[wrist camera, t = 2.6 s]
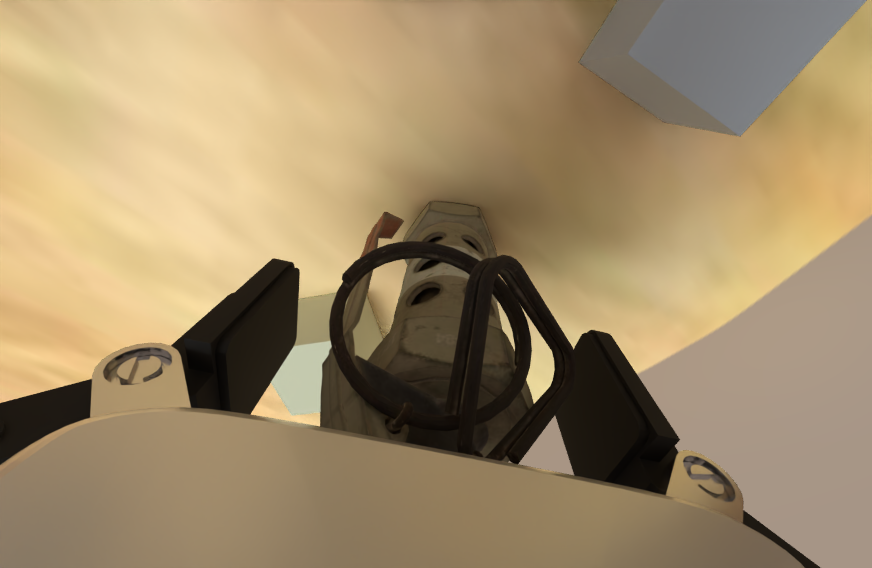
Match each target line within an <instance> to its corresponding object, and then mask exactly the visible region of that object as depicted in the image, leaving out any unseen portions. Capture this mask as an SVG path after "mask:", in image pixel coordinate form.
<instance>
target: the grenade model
mask: <svg viewBox="0 0 872 568" xmlns="http://www.w3.org/2000/svg"><path fill="white" fill-rule="evenodd" d="M403 222H404V221H403V220H402V219H400V218H398V217H396V216H394V215H392V214H390V213H388V212H384V213H383V215H382V216H381V218H380V219H379V221H378V222H377V224H375V226H374V227H373V229H372V231H371V233H370V234H369V236H368V237H367V241H366V244H365V248H364V251H363V253H362V255H361V257H360V259H358V260H356V261H355V262H354V263H353V264H352V265H351V266H350V267H349V268H348V269H347V271H346V272H345V273H344V274H343V276H342V280H343V283H342V285H341V286H340V288H339V289H338V291H337V293H336V296H335V299H334V301H333V304H332V307H331V313H330V319H329V335H330V341H331V346H332V347H331V348H330V350H329V355H328V356H327V358H326V359H325V361H324V362H323V363H322V385H321V403H320V427H324V428H330V429H335V430H340V431H346V432H351V433H356V434H362V435H367V436H373V437H378V438H383V439H389V440H394V441H399V442H405V443H410V444H415V445H420V446H426V447H431V448H436V449H441V450H446V451H452V452H457V453H462V454H467V455H472V456H478V457H483V458H488V459H493V460H498V461H503V462H509V461H511V462H512V463H514V464H519V462H520V461H521V460H522V458H523V457H524V455H525V454H526V453H527V451H528V450H529V449H530V447H531V446H532V445H533V443H534V442H535V441H536V439H537V438H538V437H539V435H540V434H541V433H542V431H543V430H544V429H545V427H546V426H547V425H548V423H549V422H550V421H551V419H552V418H553V417H554V415H555V414H556V413H557V411H558V410H559V409H560V407H561V406H562V405H563V403H564V402H565V401H566V399H567V398H568V397H569V395H570V394H571V392H572V391H573V387H574V382H575V376H576V359H575V355H574V351H573V347H572V346H571V344H570V342H569V341H568V339H567V338H566V336H565V334H564V333H563V331H562V330H561V328H560V326H559V325H558V323H557V322H556V320H555V318H554V317H553V315H552V314H551V312H550V310H549V309H548V307H547V306H546V304H545V302H544V301H543V299H542V298H541V296H540V294H539V293H538V291H537V289H536V288H535V286H534V285H533V283H532V281H531V280H530V278H529V277H528V275H527V273H526V272H525V270H524V269H523V267H522V265H521V264H520V263H519V262H518V261H517V260H516V259H514V258H513V257H511V256H506V255H502V256H498V257H497V253H496V249H495V246H494V243H493V241H492V238H491V235H490V233H489V230H488V228H487V225H486V222H485V220H484V217H483V215H482V213H481V211H480V209H479V207H474V206H470V205H465V204H458V203H449V202H431V201H430V202H429V204H428V205H427V206H426V207H425V209H424V210H423V211H422V213H421V214H420V215H419V217H418V218H417V219H416V221H415V222H414V223H413V225H412V226H411V228H410V229H409V231H408V232H407V234H406V235H405V237H404V239H403V242H398V243H393V244H388V245H385V246H383V247H380V248H377V247H378V239H379V238H389V239H392V237H393V236H394V234H395V233H396V232H397V230H398V229H399V227H400V226H401V225H402V223H403ZM400 259H405V261H406V263H407V265H408V266H407V269H406V273H405V277H404V280H403V285H402V289H401V293H400V296H399V299H398V303H397V307H396V311H395V315H394V321H393V324H392V327H391V330H390V332H389V334H388V335H387V336H386V337H385V338H384V339H383V340H382V342H381V343H380V344H379V345H378V346H377V347H376V349H375V350H374V351H373V353H372V354H371V356H370V357H369V358H368V360H365V359H363V358H361V357H360V356H358V355H356V356H355V345H354V337H353V330H354V328H355V327H356V326H357V324H358V323H359V321H360V318H361V314H362V310H363V307H364V303H365V300H366V296H367V293H368V289H369V285H370V280H371V276H372V272H373V269H375V268H377V267H379V266H381V265H383V264H385V263H388V262H392V261H396V260H400ZM498 274H499V275H501V277H502V278H503V280H504V281H505V282H504V281H503V280H502V279H501V278H500V277H499V276H498ZM505 283H506V284H507V285H506V284H505ZM348 297H349V298H348ZM347 299H348V301H347ZM496 299H497V300H496ZM346 301H347V304H346ZM497 301H498V302H499V303H500V305H501V306H502V308H503V310H504V312H505V313H506V315H507V317H508V320H509V322H510V325H511V328H512V331H513V337H514V343H515V351H514V349H513V347H512V345H511V343H510V341H509V339H508V337H507V336H506V334H505V333H504V332H503V330H502V326H501V321H500V316H499V310H498V305H497ZM519 303H520V304H519ZM345 305H346V307H345ZM521 306H522V307H521ZM522 308H523V309H524V311H525V312H526V314H527V315H528V316H529V318H530V319H531V321H532V322H533V324H534V325H535V327H536V328H537V330H538V331H539V333H540V334H541V336H542V337H543V339H544V340H545V341H546V343H547V344H548V346H549V347H550V349H551V350H552V353H553V357H554V365H555V371H554V377H553V381H552V383H551V386H550V387H549V388H548V390H547V391H546V392H545V393H544V394H543V395H542V396H541V397H540V398H539V399H538V400H537V402H536V403H535V404H534V403H533V399H532V395H531V392H530V389H529V387H528V384H527V381H526V378H527V375H528V371H529V368H530V362H531V352H532V348H531V336H530V331H529V327H528V323H527V319H526V317H525V314H524V312H523V310H522ZM344 310H345V311H344Z"/></svg>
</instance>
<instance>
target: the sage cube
mask: <svg viewBox="0 0 872 568" xmlns="http://www.w3.org/2000/svg"><path fill="white" fill-rule="evenodd" d="M335 296H336V293H332V294H326V295H320V296H314V297H308V298H302V299H298V320H297V338H296V342H295V345H294V347H293V348H292V350H291V352H290V353H289V355H288V356H287V358H286V359H285V361H284V362H283V364H282V366H281V367H280V369H279V370H278V372H277V373H276V375H275V377H274V378H273V380H272V381H271V383H272V385H273V387H274V388H275V390H276V391H277V393H278V395H279V396H280V398H281V399H282V401H283V403H284V404H285V406H286V407H287V409H288V411H289V412H290V414H291V415H301V414H310V413H319V412H320V403H321V385H322V363H323V362H324V361H325V359H326V358H327V356H328V355H329V350H330V348H331V347H332V346H331V341H330V335H329V319H330V313H331V307H332V304H333V301H334V299H335ZM348 298H349V297H348ZM347 301H348V299H347ZM347 301H346V304H347ZM345 307H346V305H345ZM344 311H345V310H344ZM353 337H354V345H355V356H356V355H358V356H360V357H361V358H363V359H365V360H368V358H369V357H370V356H371V354H372V353H373V351H374V350H375V349H376V347H377V346H378V345H379V344H380V343H381V342H382V340H383V338H382V335H381V332H380V329H379V327H378V324H377V321H376V318H375V316H374V313H373V310H372V308H371V305H370V302H369V299H368V297H367V296H366V300H365V303H364V307H363V310H362V314H361V318H360V321H359V323H358V324H357V326H356V327H355V328H354V330H353Z"/></svg>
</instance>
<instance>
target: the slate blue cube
mask: <svg viewBox="0 0 872 568" xmlns="http://www.w3.org/2000/svg"><path fill="white" fill-rule="evenodd" d="M866 1H867V0H618V1H617V2H616V4H615V5H614V7H613V9H612V10H611V12H610V13H609V15H608V16H607V18H606V20H605V21H604V23H603V24H602V26H601V28H600V29H599V31H598V32H597V34H596V35H595V37H594V39H593V40H592V42H591V43H590V45H589V47H588V48H587V50H586V51H585V53H584V54H583V56H582V58H581V59H580V61H579V63H580V64H581V65H583V66H584V67H586V68H587V69H589V70H590V71H591V72H593V73H594V74H596V75H597V76H599V77H600V78H601V79H603V80H604V81H606V82H607V83H609V84H610V85H611V86H613V87H614V88H616V89H617V90H619V91H620V92H621V93H623V94H624V95H626V96H627V97H629V98H630V99H631V100H633V101H634V102H636V103H637V104H639V105H640V106H641V107H643V108H644V109H646V110H647V111H649V112H650V113H651V114H653V115H654V116H656V117H657V118H659V119H660V120H661V121H663V122H665V123H670V124H676V125H681V126H686V127H692V128H697V129H702V130H708V131H713V132H719V133H724V134H729V135H735V136H741V135H742V134H743V133H744V132H745V131H746V130H747V128H748V127H749V126H750V125H751V124H752V123H753V122H754V121H755V120H756V119H757V118H758V117H759V116H760V114H761V113H762V112H763V111H764V110H765V109H766V108H767V107H768V106H769V105H770V104H771V103H772V102H773V100H774V99H775V98H776V97H777V96H778V95H779V94H780V93H781V92H782V91H783V90H784V89H785V88H786V87H787V85H788V84H789V83H790V82H791V81H792V80H793V79H794V78H795V77H796V76H797V75H798V74H799V73H800V71H801V70H802V69H803V68H804V67H805V66H806V65H807V64H808V63H809V62H810V61H811V60H812V59H813V57H814V56H815V55H816V54H817V53H818V52H819V51H820V50H821V49H822V48H823V47H824V46H825V45H826V44H827V42H828V41H829V40H830V39H831V38H832V37H833V36H834V35H835V34H836V33H837V32H838V31H839V30H840V28H841V27H842V26H843V25H844V24H845V23H846V22H847V21H848V20H849V19H850V18H851V17H852V16H853V14H854V13H855V12H856V11H857V10H858V9H859V8H860V7H861V6H862V5H863V4H864V3H865V2H866Z"/></svg>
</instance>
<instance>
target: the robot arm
mask: <svg viewBox="0 0 872 568" xmlns="http://www.w3.org/2000/svg"><path fill="white" fill-rule="evenodd" d="M299 274H300V273H299V269H298V268H294V264H293V263H292V262H288V261H283V260H279V259H272V260H271V261H270V262H268V263H267V264H266V265H265V266H264V267H263V268H262V269H261V270H259V271H258V272H257V273H256V274H255V275H254V276H253V277H252V278H250V279H249V280H248V281H247V282H246V283H245V284H244V285H243V286H242V287H240V288H239V289H238V290H237V291H236V292H235V293H231V294H230V295H228V296H227V297H226V298H225V299H224V300H222V301H221V302H220V303H219V304H218V305H217V306H216V307H214V308H213V309H212V310H211V311H210V312H209V313H208V314H207V315H205V316H204V317H203V318H202V319H201V320H200V321H199V322H197V323H196V324H195V325H194V326H193V327H192V328H191V329H189V330H188V331H187V332H186V333H185V334H184V335H183V336H182V337H180V338H179V339H178V340H177V341H176V342H175V343H174V344H172V345H171V346H170V345H166V344H162V343H144V344H137V345H133V346H129V347H125V348H123V349H120V350H118V351H116V352H113V353H112V354H110V355H109V356H107V357H106V358H104V359H102V360H101V362H100V363H99V364H98V365H97V366H96V367H95V369H94V372H93V375H92V379H90V380H86V381H82V382H79V383H75V384H71V385H67V386H63V387H60V388H56V389H52V390H48V391H44V392H41V393H37V394H33V395H29V396H26V397H22V398H18V399H14V400H10V401H7V402H3V403H0V568H820V567H819V566H818V565H816V564H815V563H814V562H812V561H811V560H809V559H808V558H807V557H805V556H804V555H803V554H802V553H800V552H799V551H797V550H796V549H795V548H793V547H792V546H791V545H789V544H788V543H787V542H785V541H784V540H783V539H781V538H780V537H779V536H777V535H776V534H775V533H773V532H772V531H771V530H769V529H768V528H767V527H765V526H764V525H763V524H761V523H760V522H759V521H757V520H756V519H755V518H753V517H752V516H751V515H749V514H748V513H747V512H745V511H744V510H743V502H744V501H743V496H742V493H741V491H740V489H739V488H738V486H737V484H736V483H735V482H734V480H733V479H732V478H731V477H730V475H729V474H728V473H727V472H725V471H724V470H723V469H722V468H721V467H720V466H719V465H717V464H716V463H714V462H713V461H712V460H710V459H709V458H707V457H705V456H704V455H702V454H699V453H696V452H694V451H689V450H683V451H680V452H678V451H677V449H676V448H675V445H676V444H677V442H678V441H679V440H680V439H679V438H678V436H677V434H676V433H675V431H674V430H673V428H672V427H671V425H670V424H669V422H668V421H667V419H666V418H665V416H664V415H663V413H662V412H661V410H660V409H659V407H658V406H657V404H656V403H655V401H654V400H653V398H652V397H651V395H650V394H649V392H648V391H647V389H646V387H645V386H644V385H643V383H642V381H641V380H640V378H639V377H638V375H637V374H636V372H635V371H634V369H633V368H632V366H631V365H630V363H629V362H628V360H627V359H626V357H625V356H624V354H623V353H622V351H621V350H620V348H619V347H618V345H617V344H616V342H615V341H614V339H613V338H612V336H611V335H610V334H608V333H604V332H599V331H595V330H590V331H589V332H587V333H584V334H582V336H581V337H580V339H579V341H578V343H577V344H576V346H575V348H574V350H573V351H574V355H575V359H576V376H575V382H574V387H573V391H572V392H571V394H570V395H569V397H568V398H567V399H566V401H565V402H564V403H563V405H562V406H561V407H560V409H559V410H558V411H557V413H556V414H555V416H556V419H557V422H558V425H559V429H560V431H561V435H562V438H563V441H564V444H565V447H566V450H567V454H568V456H569V460H570V463H571V466H572V469H573V472H574V475H575V476H574V475H569V474H564V473H559V472H554V471H549V470H544V469H539V468H533V467H528V466H523V465H518V464H514V463H508V462H503V461H498V460H493V459H488V458H483V457H478V456H472V455H467V454H462V453H457V452H452V451H446V450H441V449H436V448H431V447H426V446H420V445H415V444H410V443H405V442H399V441H394V440H389V439H383V438H378V437H373V436H367V435H362V434H356V433H351V432H346V431H340V430H335V429H330V428H324V427H319V426H313V425H308V424H302V423H297V422H291V421H285V420H279V419H273V418H268V417H262V416H256V415H250V414H251V412H252V411H253V409H254V408H255V406H256V405H257V403H258V401H259V400H260V398H261V397H262V395H263V394H264V392H265V391H266V389H267V387H268V386H269V384H270V383H271V381H272V380H273V378H274V377H275V375H276V373H277V372H278V370H279V369H280V367H281V366H282V364H283V362H284V361H285V359H286V358H287V356H288V355H289V353H290V352H291V350H292V348H293V347H294V345H295V342H296V338H297V320H298V297H299Z"/></svg>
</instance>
